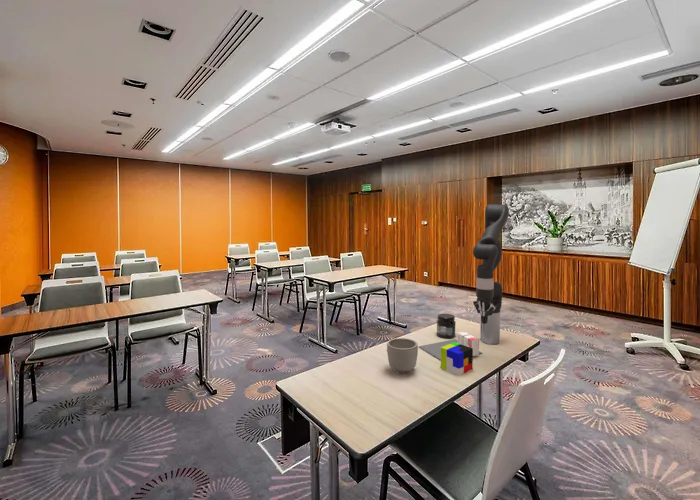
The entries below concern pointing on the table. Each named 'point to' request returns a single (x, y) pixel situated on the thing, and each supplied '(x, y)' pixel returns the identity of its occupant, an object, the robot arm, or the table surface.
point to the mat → (437, 348)
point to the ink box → (468, 342)
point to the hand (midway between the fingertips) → (484, 323)
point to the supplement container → (446, 326)
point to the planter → (402, 354)
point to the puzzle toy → (456, 358)
